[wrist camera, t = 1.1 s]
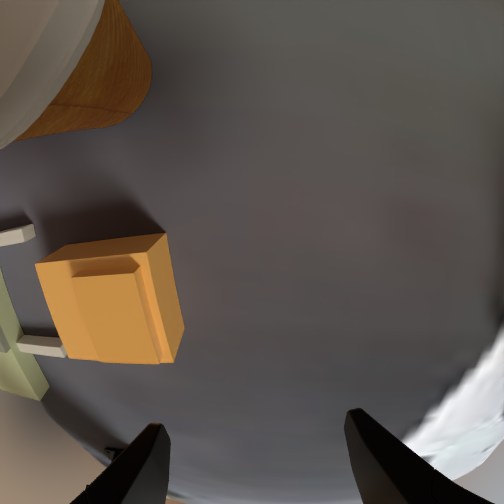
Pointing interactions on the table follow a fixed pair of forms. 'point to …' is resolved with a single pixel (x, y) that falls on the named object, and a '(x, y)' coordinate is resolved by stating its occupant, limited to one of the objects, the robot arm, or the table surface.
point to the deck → (21, 338)
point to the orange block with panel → (114, 299)
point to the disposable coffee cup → (67, 67)
